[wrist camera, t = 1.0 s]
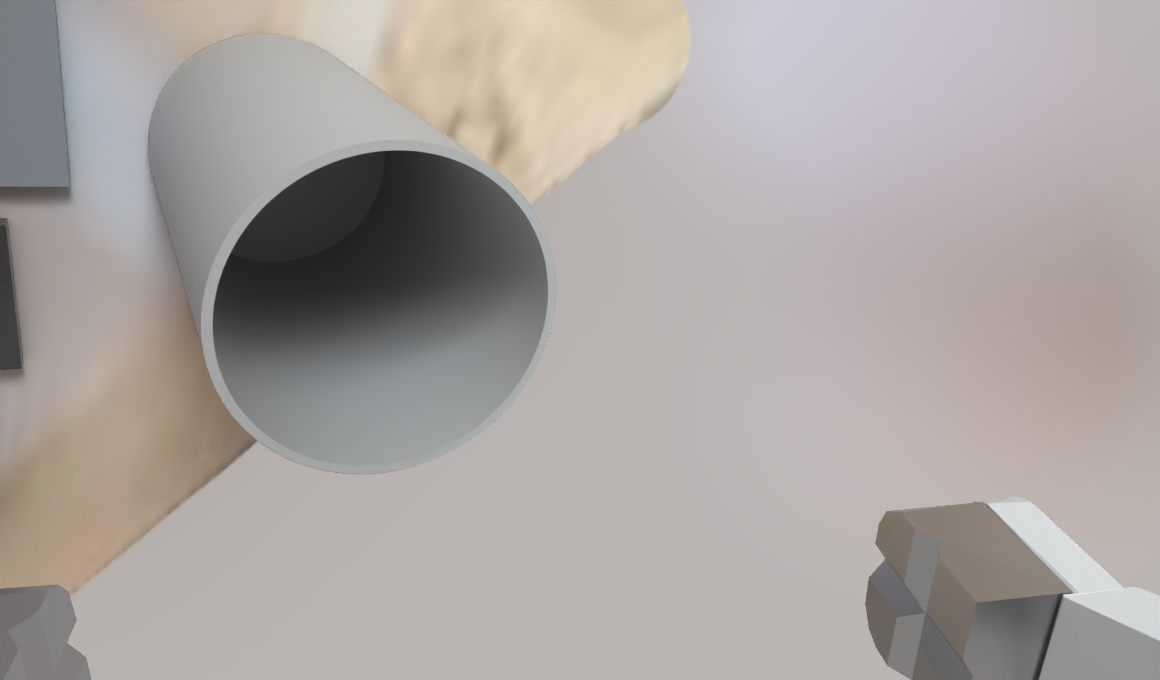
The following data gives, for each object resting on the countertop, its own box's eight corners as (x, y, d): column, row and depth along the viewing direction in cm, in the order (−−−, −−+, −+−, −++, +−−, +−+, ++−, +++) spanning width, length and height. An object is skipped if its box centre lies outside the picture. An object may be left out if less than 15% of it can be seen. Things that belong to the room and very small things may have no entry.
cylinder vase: (420, 123, 56) (617, 266, 36) (297, 290, 57) (423, 520, 37) (236, -21, 49) (354, 58, 29) (97, 174, 50) (119, 382, 30)
